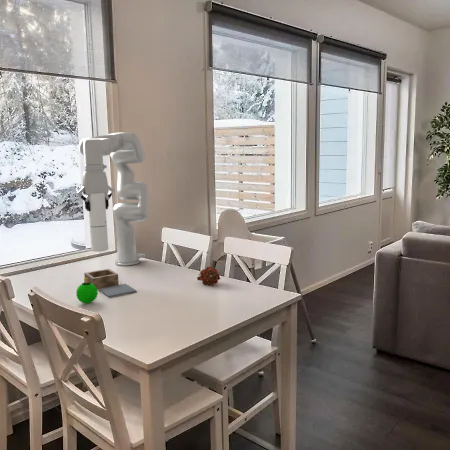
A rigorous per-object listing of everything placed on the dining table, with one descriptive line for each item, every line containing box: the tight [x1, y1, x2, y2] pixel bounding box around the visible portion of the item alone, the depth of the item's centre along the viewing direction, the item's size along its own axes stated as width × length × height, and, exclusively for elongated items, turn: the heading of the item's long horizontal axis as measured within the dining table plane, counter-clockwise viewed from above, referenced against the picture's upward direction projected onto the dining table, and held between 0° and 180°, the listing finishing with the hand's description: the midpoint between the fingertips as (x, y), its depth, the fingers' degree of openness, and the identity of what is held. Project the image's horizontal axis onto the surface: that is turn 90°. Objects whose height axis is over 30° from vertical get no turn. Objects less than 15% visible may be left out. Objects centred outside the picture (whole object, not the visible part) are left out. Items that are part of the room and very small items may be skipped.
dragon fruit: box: [196, 266, 221, 287], centre depth 208 cm, size 8×8×12 cm
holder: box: [83, 268, 120, 290], centre depth 211 cm, size 11×11×5 cm
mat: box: [98, 283, 137, 299], centre depth 201 cm, size 12×12×1 cm
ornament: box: [76, 277, 99, 304], centre depth 187 cm, size 8×8×10 cm
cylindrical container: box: [88, 193, 109, 253], centre depth 206 cm, size 7×7×25 cm
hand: (97, 209), depth 205 cm, fingers closed on cylindrical container, 7 cm apart
